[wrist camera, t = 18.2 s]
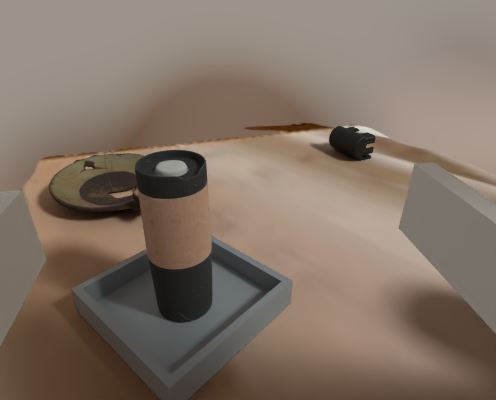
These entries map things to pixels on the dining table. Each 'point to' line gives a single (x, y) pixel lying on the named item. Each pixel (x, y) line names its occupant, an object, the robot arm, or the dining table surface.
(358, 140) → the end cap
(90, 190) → the oil lamp
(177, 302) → the travel mug
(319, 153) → the dining table surface
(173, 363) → the parts tray
